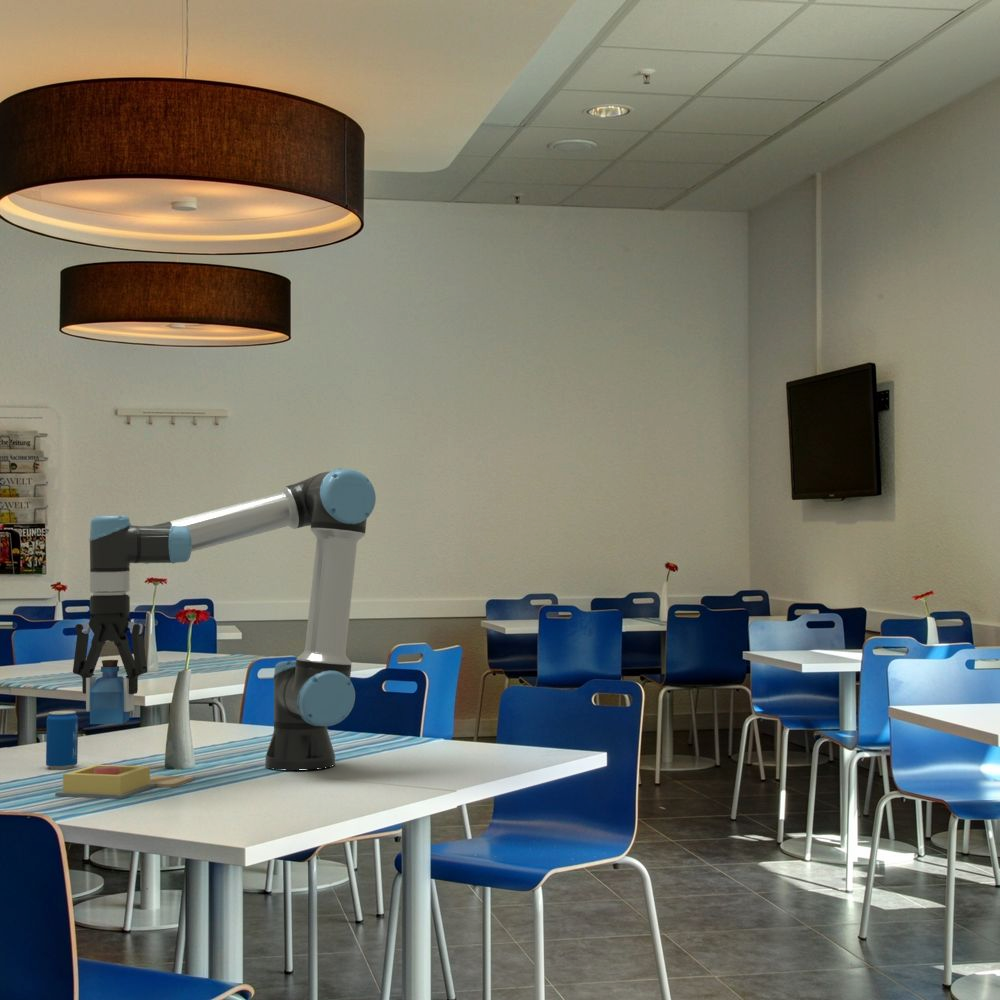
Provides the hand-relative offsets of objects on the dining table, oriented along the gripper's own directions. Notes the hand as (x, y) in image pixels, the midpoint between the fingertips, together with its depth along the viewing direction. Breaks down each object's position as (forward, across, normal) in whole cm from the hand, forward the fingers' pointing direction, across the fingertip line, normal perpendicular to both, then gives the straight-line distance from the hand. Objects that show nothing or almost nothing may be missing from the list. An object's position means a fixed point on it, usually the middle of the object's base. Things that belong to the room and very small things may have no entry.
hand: (110, 710), depth 256 cm
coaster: (+16, -6, -11) cm, 20 cm away
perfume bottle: (+2, 0, 0) cm, 2 cm away
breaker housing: (+16, 0, 0) cm, 16 cm away
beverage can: (+16, +24, -24) cm, 38 cm away
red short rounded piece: (+14, 0, 0) cm, 14 cm away
